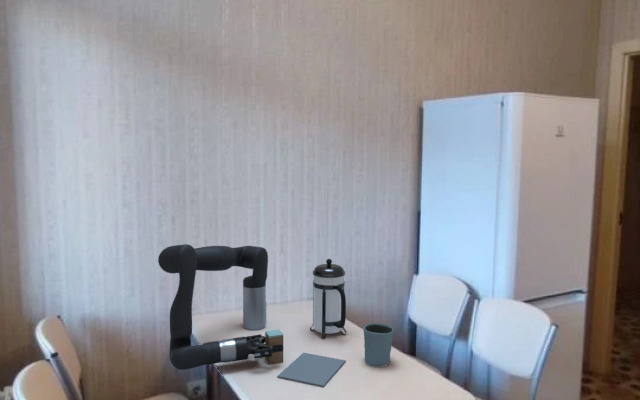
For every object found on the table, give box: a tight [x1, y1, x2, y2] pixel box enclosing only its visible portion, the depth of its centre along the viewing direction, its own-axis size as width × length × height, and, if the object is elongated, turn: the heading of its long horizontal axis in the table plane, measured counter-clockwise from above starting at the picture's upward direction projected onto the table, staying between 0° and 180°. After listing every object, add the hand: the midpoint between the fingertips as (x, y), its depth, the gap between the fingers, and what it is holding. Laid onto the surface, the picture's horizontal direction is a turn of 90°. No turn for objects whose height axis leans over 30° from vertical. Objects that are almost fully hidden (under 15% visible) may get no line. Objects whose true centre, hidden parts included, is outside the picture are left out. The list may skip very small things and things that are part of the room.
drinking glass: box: [363, 322, 394, 368], centre depth 171 cm, size 10×10×12 cm
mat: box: [276, 352, 346, 388], centre depth 165 cm, size 20×16×1 cm
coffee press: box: [309, 258, 347, 340], centre depth 195 cm, size 17×16×30 cm
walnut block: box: [264, 329, 284, 365], centre depth 171 cm, size 5×5×10 cm
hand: (279, 343), depth 171 cm, fingers open, 8 cm apart
